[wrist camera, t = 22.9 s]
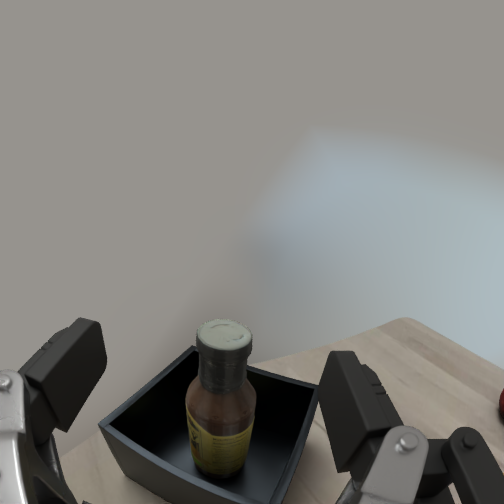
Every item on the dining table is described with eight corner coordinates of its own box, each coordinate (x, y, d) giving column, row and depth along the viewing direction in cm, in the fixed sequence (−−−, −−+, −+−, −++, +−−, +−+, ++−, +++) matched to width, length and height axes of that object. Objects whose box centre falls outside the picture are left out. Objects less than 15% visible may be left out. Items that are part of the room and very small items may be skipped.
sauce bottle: (196, 438, 27) (193, 304, 22) (246, 445, 27) (267, 312, 22) (187, 477, 21) (171, 347, 16) (243, 485, 21) (269, 360, 16)
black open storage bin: (123, 473, 20) (97, 423, 17) (193, 401, 35) (192, 344, 32) (257, 538, 14) (276, 514, 12) (301, 439, 29) (322, 385, 27)
